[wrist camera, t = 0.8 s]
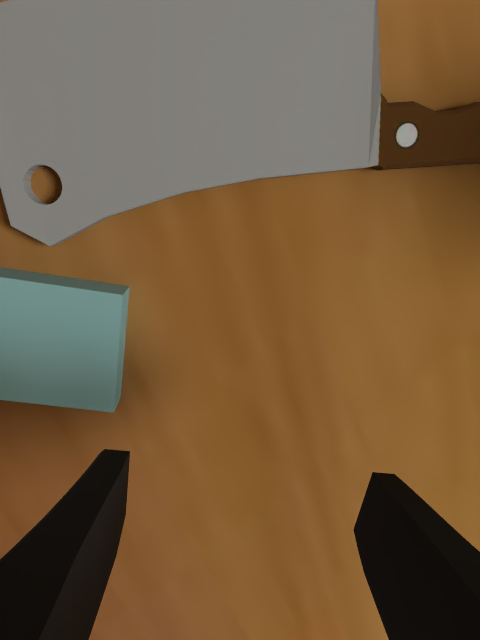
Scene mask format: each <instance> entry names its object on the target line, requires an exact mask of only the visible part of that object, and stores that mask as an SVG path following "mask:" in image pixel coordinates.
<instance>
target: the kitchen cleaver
mask: <svg viewBox="0 0 480 640" xmlns="http://www.w3.org/2000/svg"><path fill="white" fill-rule="evenodd" d="M473 163H480V102H474V103H471V104H469V105H466V106H463V107H460V108H457V109H455V110H444V111H434V110H431V109H429V108H427V107H425V106H422V105H420V104H418V103H415V102H413V101H412V102H397V103H387V100H386V99H385V98H384V96H383V95H382V94H381V80H380V55H379V30H378V5H377V0H10V1H5V2H1V3H0V188H1V192H2V195H3V199H4V203H5V206H6V210H7V214H8V217H9V221H10V225H11V226H12V227H14V228H16V229H18V230H20V231H22V232H24V233H25V234H27V235H29V236H31V237H33V238H35V239H37V240H39V241H41V242H43V243H45V244H46V245H48V246H53V245H57V244H60V243H61V242H63V241H65V240H67V239H69V238H71V237H73V236H74V235H76V234H78V233H80V232H82V231H84V230H86V229H87V228H89V227H91V226H93V225H95V224H97V223H99V222H101V221H102V220H104V219H106V218H108V217H110V216H113V215H116V214H119V213H122V212H125V211H129V210H132V209H135V208H138V207H141V206H144V205H148V204H151V203H154V202H157V201H160V200H163V199H167V198H170V197H173V196H176V195H179V194H182V193H186V192H192V191H197V190H202V189H208V188H213V187H218V186H224V185H229V184H235V183H240V182H245V181H251V180H256V179H264V178H274V177H284V176H294V175H304V174H314V173H324V172H334V171H344V170H353V169H362V168H367V167H372V168H374V169H376V170H385V169H400V168H414V167H429V166H444V165H458V164H473ZM41 166H48V167H51V168H52V169H53V170H55V171H56V172H57V174H58V175H59V177H60V179H61V182H62V192H61V195H60V197H59V198H58V200H57V201H55V202H54V203H52V204H47V203H44V202H42V201H41V200H39V199H38V198H37V197H36V196H35V194H34V193H33V191H32V188H31V182H30V180H31V176H32V174H33V172H34V171H35V170H36V169H37V168H39V167H41Z"/></svg>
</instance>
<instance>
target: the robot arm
mask: <svg viewBox="0 0 480 640" xmlns="http://www.w3.org/2000/svg"><path fill="white" fill-rule="evenodd" d="M129 457H130V451H119V450H107V449H105V450H103V451H102V452H101V453H100V454H99V455H98V456H97V458H96V459H95V460H94V462H93V463H92V464H91V465H90V466H89V468H88V469H87V470H86V471H85V473H84V474H83V475H82V476H81V477H80V478H79V480H78V481H77V482H76V483H75V484H74V485H73V486H72V488H71V489H70V490H69V491H68V492H67V493H66V494H65V495H64V496H63V497H62V499H61V500H60V501H59V502H58V503H57V504H56V505H55V506H54V507H53V508H52V509H51V510H50V511H49V513H48V514H47V515H46V516H45V517H44V518H43V519H42V520H41V521H40V522H39V523H38V524H37V525H36V526H35V527H34V528H33V529H32V530H31V531H30V532H28V533H27V534H26V535H25V536H24V537H23V538H22V539H21V540H20V541H19V542H18V543H17V544H16V545H15V546H14V547H13V548H12V549H11V550H10V551H9V552H8V553H7V554H6V555H5V556H3V557H2V558H1V559H0V640H89V637H90V634H91V631H92V628H93V625H94V622H95V619H96V616H97V613H98V610H99V607H100V604H101V601H102V598H103V595H104V592H105V588H106V585H107V582H108V579H109V576H110V573H111V570H112V567H113V564H114V561H115V558H116V554H117V550H118V546H119V541H120V537H121V533H122V528H123V524H124V519H125V515H126V502H127V487H128V472H129ZM354 534H355V538H356V542H357V547H358V551H359V555H360V559H361V563H362V566H363V570H364V573H365V576H366V579H367V582H368V585H369V587H370V590H371V593H372V595H373V598H374V601H375V604H376V606H377V609H378V612H379V614H380V617H381V620H382V622H383V625H384V628H385V630H386V633H387V636H388V638H389V640H480V552H479V551H478V550H477V549H476V548H475V547H473V546H472V545H471V544H470V543H469V542H468V541H467V540H466V539H465V538H463V537H462V536H461V535H460V534H459V533H458V532H457V531H456V530H455V529H454V528H453V527H451V526H450V525H449V524H448V523H447V522H446V521H445V520H444V519H443V518H442V517H441V516H440V515H439V514H438V513H436V512H435V511H434V510H433V509H432V508H431V507H430V506H429V505H428V504H427V503H426V502H425V501H424V500H423V499H422V498H420V497H419V496H418V495H417V494H416V493H415V492H414V491H413V490H412V489H411V488H410V487H409V486H407V485H406V484H405V483H404V482H403V481H402V480H401V479H400V478H398V477H397V476H396V475H395V474H387V473H375V472H373V473H372V476H371V479H370V482H369V485H368V488H367V491H366V494H365V497H364V500H363V503H362V506H361V509H360V512H359V515H358V518H357V521H356V524H355V527H354Z"/></svg>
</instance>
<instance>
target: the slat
mask: <svg viewBox="0 0 480 640" xmlns="http://www.w3.org/2000/svg"><path fill="white" fill-rule="evenodd" d="M129 287H130V286H123V285H117V284H110V283H103V282H96V281H90V280H83V279H76V278H70V277H63V276H56V275H50V274H43V273H36V272H29V271H23V270H16V269H9V268H3V267H0V400H6V401H15V402H24V403H33V404H42V405H50V406H59V407H68V408H77V409H86V410H95V411H103V412H112V413H114V412H115V409H116V407H117V405H118V402H119V400H120V398H121V387H122V375H123V362H124V350H125V337H126V325H127V312H128V300H129Z"/></svg>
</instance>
